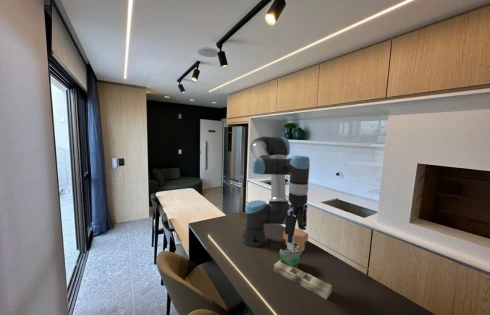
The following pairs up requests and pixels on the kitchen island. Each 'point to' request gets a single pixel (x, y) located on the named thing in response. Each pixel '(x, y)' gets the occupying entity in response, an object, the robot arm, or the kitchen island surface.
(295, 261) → the grey green half-round piece
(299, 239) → the tan toy stool
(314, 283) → the rail
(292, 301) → the kitchen island surface
